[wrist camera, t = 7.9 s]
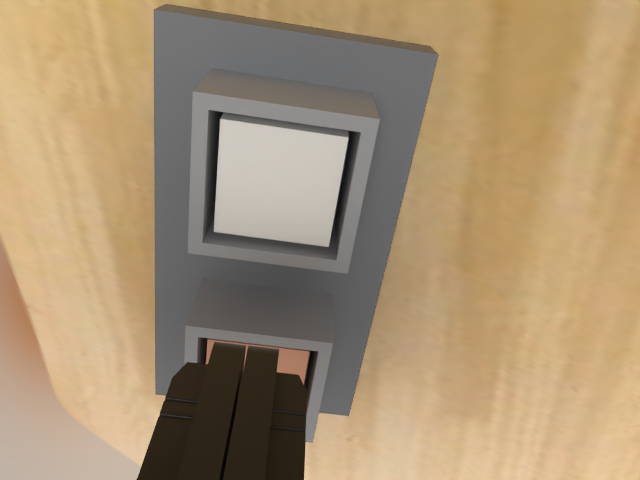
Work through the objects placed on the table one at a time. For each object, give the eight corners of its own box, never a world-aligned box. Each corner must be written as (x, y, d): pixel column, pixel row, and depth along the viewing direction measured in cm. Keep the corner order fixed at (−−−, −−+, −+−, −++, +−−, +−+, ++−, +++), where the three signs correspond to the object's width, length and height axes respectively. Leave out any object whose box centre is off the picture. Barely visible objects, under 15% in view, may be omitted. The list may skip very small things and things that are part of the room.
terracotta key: (214, 314, 28) (207, 339, 26) (310, 325, 28) (309, 351, 26) (210, 384, 30) (203, 412, 28) (298, 394, 30) (296, 422, 29)
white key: (228, 104, 22) (220, 118, 20) (346, 122, 23) (348, 137, 21) (221, 211, 25) (213, 231, 23) (328, 225, 25) (328, 247, 23)
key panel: (166, 4, 24) (121, 22, 18) (430, 46, 24) (459, 75, 19) (163, 371, 34) (135, 448, 29) (347, 392, 35) (351, 471, 30)
